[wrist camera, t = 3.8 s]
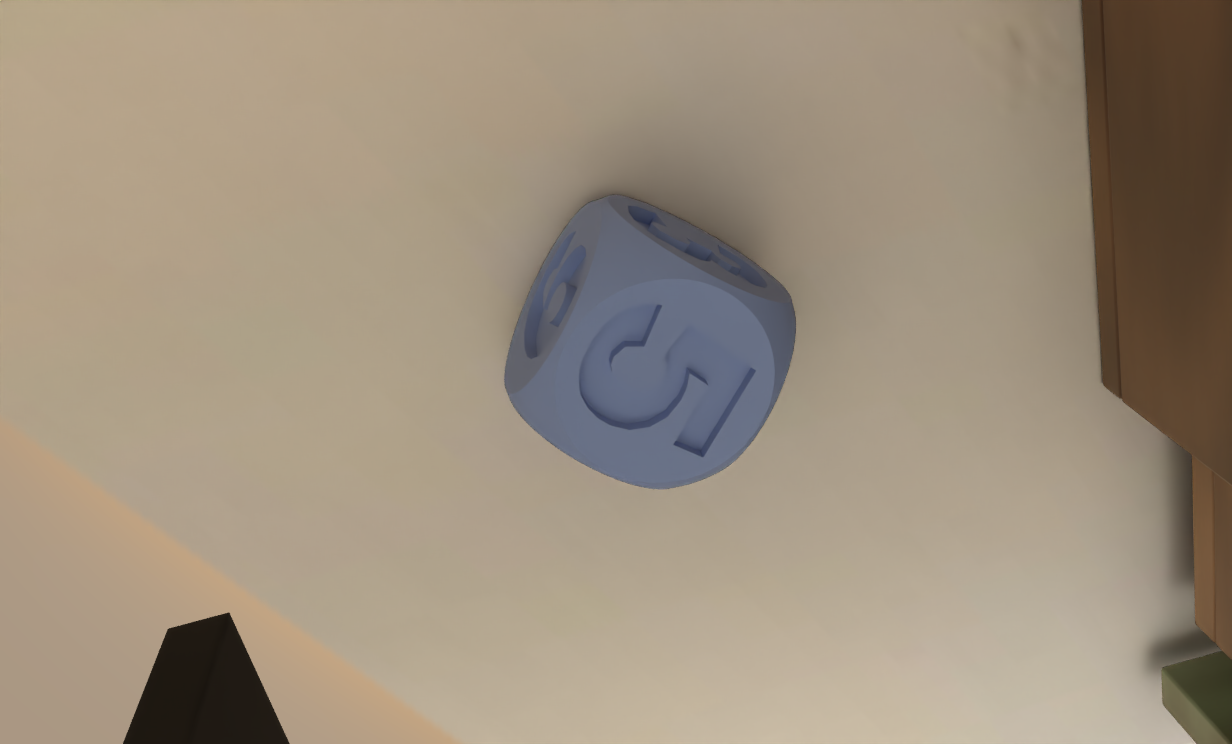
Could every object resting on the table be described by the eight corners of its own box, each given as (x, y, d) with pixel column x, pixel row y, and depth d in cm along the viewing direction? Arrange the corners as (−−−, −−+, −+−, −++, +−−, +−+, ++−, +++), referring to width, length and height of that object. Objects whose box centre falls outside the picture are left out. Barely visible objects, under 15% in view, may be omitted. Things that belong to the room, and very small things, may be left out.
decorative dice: (668, 423, 24) (707, 520, 21) (497, 348, 23) (507, 437, 19) (764, 259, 23) (824, 332, 19) (589, 172, 22) (618, 231, 18)
